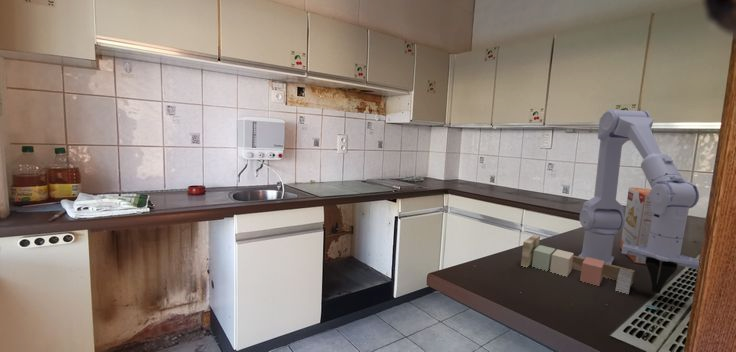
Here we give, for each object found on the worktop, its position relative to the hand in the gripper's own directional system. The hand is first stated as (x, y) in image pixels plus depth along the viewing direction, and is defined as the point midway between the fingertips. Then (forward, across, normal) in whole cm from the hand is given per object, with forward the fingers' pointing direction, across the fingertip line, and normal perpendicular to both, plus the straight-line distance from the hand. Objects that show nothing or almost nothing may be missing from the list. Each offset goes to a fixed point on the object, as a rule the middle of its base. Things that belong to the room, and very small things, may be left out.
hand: (655, 291), depth 77 cm
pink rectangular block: (+2, -12, 0) cm, 13 cm away
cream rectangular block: (+2, -19, 0) cm, 19 cm away
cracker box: (+2, -5, +31) cm, 31 cm away
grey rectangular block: (+2, -6, 0) cm, 6 cm away
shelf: (+2, -16, 0) cm, 16 cm away
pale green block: (+2, -24, 0) cm, 24 cm away
